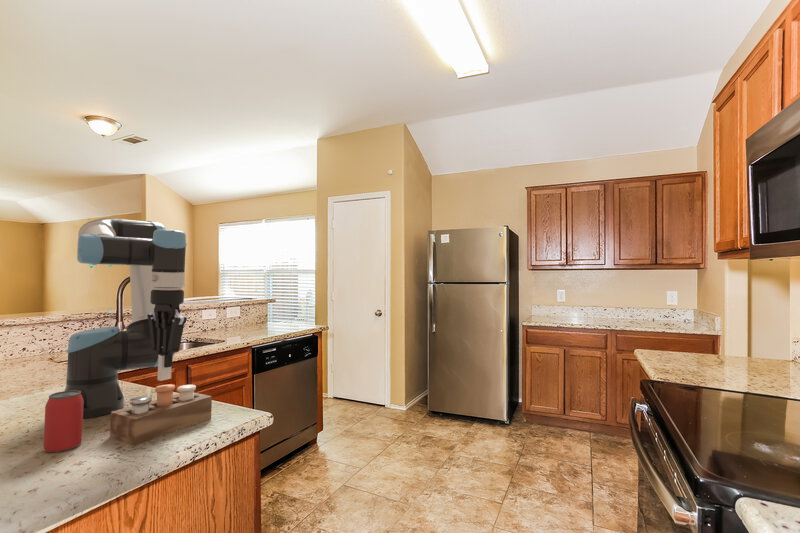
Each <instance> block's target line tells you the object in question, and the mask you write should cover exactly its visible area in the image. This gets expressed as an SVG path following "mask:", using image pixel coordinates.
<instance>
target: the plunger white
mask: <svg viewBox="0 0 800 533" xmlns="http://www.w3.org/2000/svg"><path fill="white" fill-rule="evenodd" d="M196 390H197V385H195V384H183V385H180V386H178V387H177V392H178V394H179V400H181V401H186V400H190V399H193V398H194V393H195V391H196Z"/></svg>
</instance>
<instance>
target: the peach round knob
mask: <svg viewBox="0 0 800 533" xmlns="http://www.w3.org/2000/svg"><path fill="white" fill-rule="evenodd" d="M154 388H155V391H154V392H156V400H157V406H156V407H160V408H162V407H166V406H169V405H173V395H174V390H176V385H175V384H171V383H169V384H168V383H166V384H161V385H157V386H155V387H154Z"/></svg>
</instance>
